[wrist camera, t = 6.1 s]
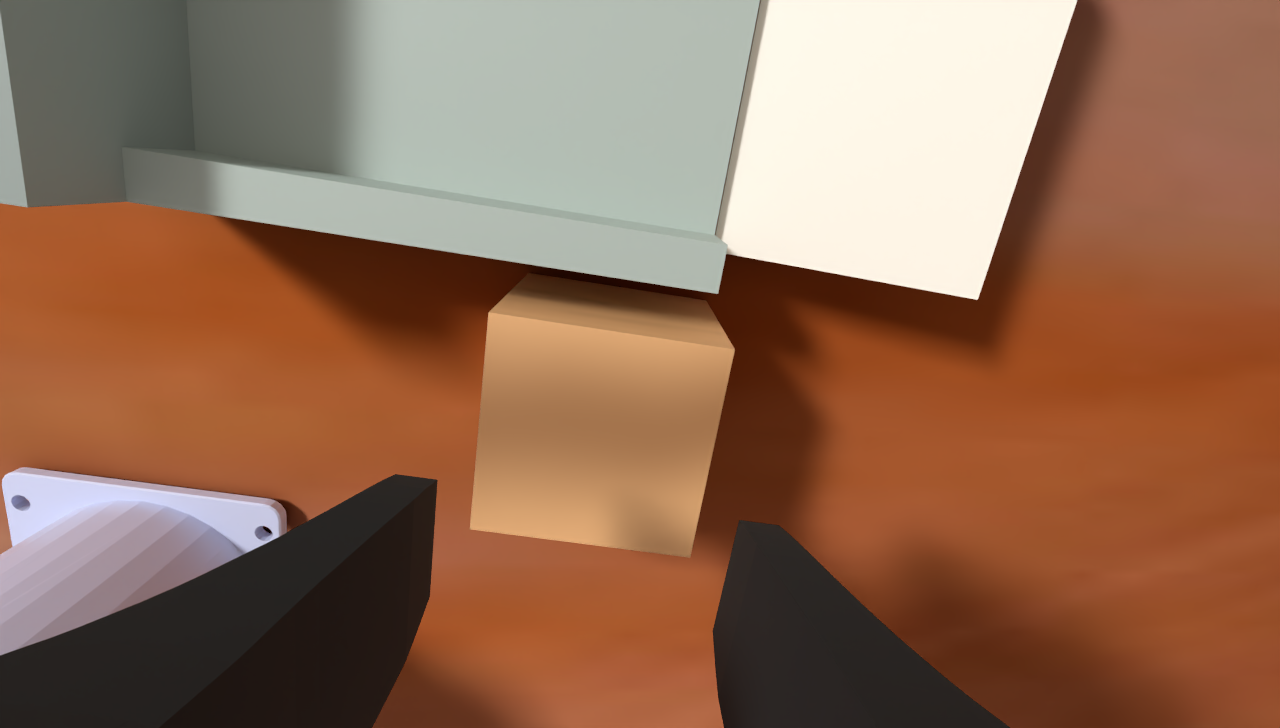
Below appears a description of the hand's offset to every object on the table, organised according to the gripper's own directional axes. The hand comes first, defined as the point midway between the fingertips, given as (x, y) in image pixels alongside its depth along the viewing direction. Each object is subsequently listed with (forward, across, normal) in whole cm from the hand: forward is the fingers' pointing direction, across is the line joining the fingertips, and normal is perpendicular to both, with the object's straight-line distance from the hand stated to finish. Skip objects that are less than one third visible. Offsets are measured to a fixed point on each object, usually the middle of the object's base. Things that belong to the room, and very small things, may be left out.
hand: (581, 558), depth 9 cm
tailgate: (+7, -2, -9) cm, 12 cm away
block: (+9, 0, 0) cm, 9 cm away
